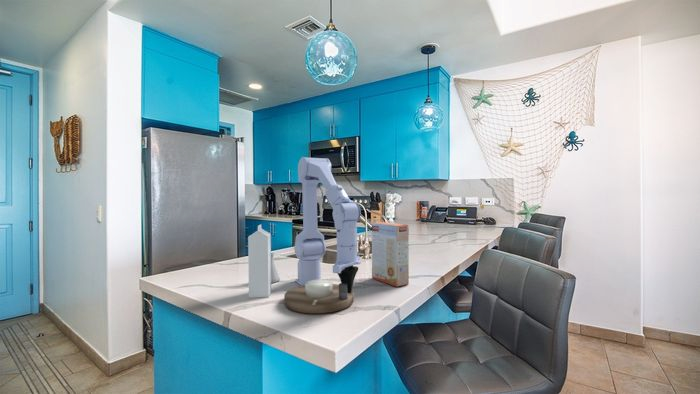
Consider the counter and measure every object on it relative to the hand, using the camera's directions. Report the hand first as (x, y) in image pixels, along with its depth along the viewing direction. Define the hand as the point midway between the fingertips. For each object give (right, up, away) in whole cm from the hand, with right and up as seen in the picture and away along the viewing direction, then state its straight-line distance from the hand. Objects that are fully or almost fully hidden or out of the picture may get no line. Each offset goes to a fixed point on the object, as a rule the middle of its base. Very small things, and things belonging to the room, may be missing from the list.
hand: (347, 292), depth 90 cm
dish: (-8, -1, +3) cm, 9 cm away
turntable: (-8, -4, +3) cm, 9 cm away
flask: (-28, -4, +25) cm, 38 cm away
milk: (-28, -4, +10) cm, 29 cm away
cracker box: (+15, -3, +23) cm, 28 cm away
